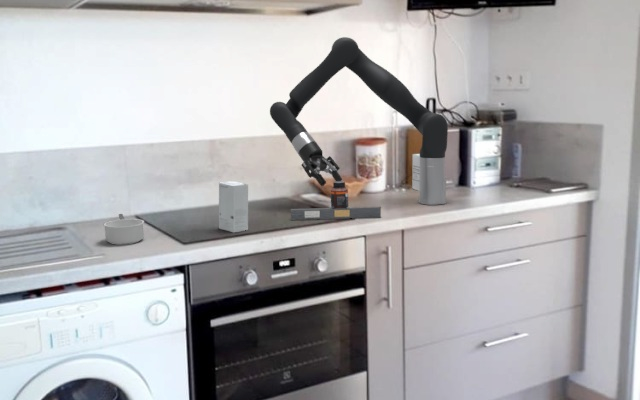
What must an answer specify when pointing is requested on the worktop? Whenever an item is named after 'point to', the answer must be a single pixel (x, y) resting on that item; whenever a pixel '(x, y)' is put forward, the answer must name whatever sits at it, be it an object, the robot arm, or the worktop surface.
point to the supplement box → (415, 171)
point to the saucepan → (124, 231)
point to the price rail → (335, 213)
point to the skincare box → (233, 206)
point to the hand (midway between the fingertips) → (332, 183)
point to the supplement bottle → (339, 195)
